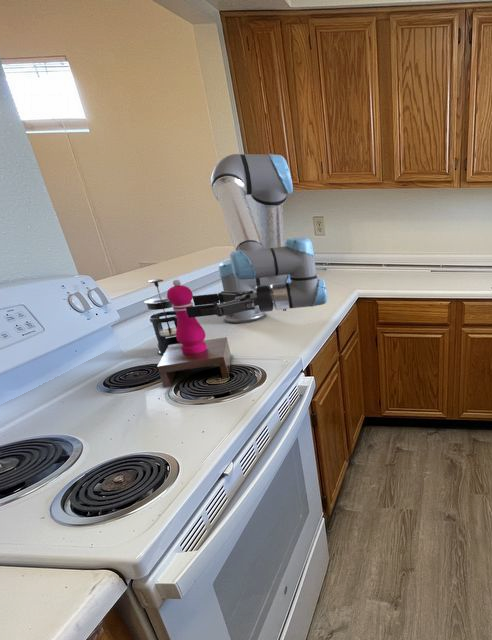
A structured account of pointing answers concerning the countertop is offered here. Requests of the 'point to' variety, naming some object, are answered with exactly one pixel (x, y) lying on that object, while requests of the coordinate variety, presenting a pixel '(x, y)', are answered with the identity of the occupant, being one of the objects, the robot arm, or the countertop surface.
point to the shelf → (194, 359)
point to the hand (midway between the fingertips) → (190, 306)
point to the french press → (162, 320)
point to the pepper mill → (186, 320)
